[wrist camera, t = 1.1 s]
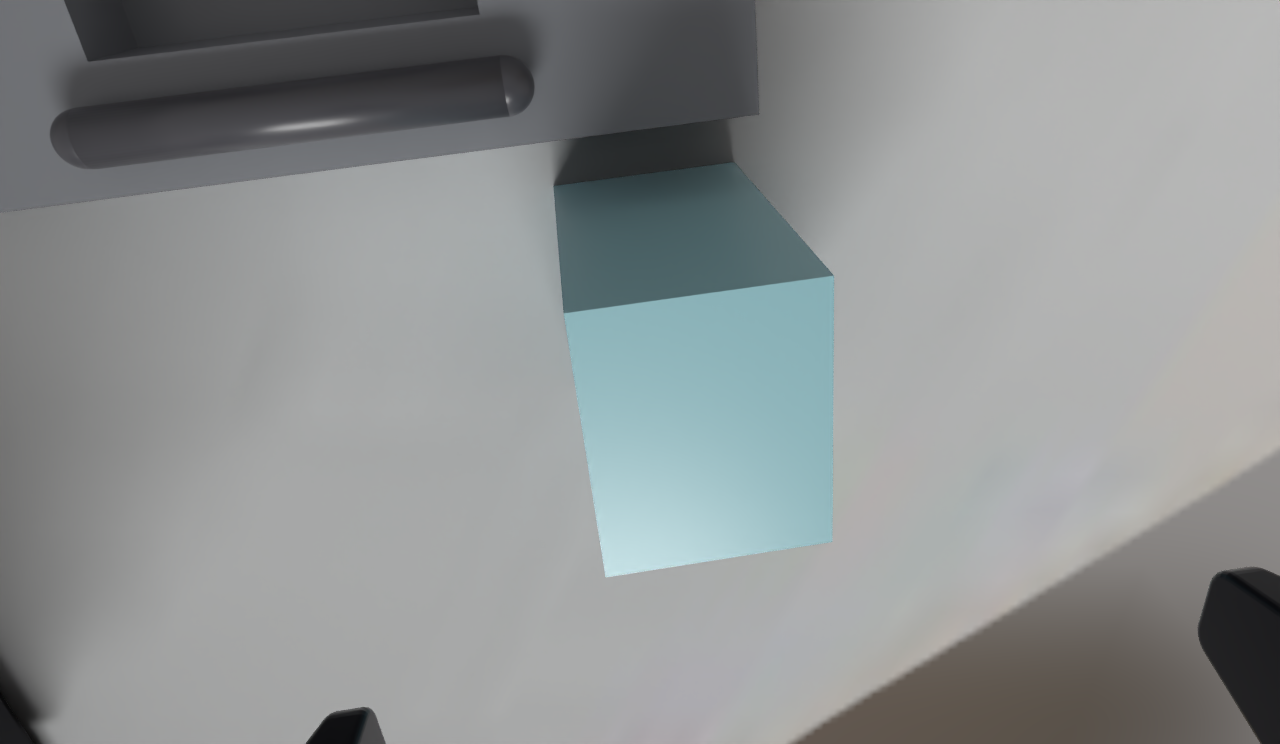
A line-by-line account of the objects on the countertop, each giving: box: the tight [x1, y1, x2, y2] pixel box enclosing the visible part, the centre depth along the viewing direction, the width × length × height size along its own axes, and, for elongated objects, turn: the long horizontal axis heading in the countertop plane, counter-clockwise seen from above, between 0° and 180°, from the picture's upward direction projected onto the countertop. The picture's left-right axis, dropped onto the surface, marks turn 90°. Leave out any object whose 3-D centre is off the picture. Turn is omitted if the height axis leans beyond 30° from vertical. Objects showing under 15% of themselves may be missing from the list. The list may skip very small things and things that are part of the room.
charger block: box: [554, 162, 834, 577], centre depth 17 cm, size 4×5×7 cm
